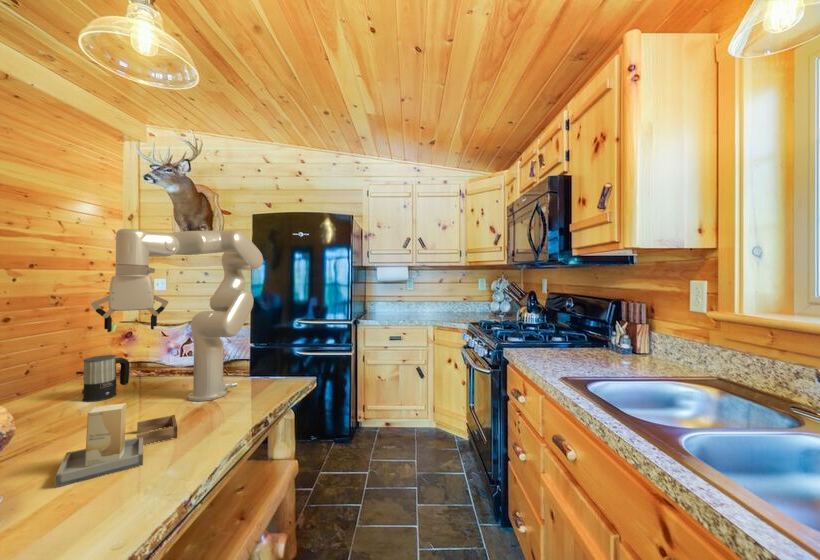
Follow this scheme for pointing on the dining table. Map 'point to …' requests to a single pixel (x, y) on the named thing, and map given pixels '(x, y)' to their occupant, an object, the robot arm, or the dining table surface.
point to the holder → (157, 434)
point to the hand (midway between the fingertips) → (131, 330)
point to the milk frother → (103, 377)
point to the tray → (77, 471)
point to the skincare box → (105, 434)
